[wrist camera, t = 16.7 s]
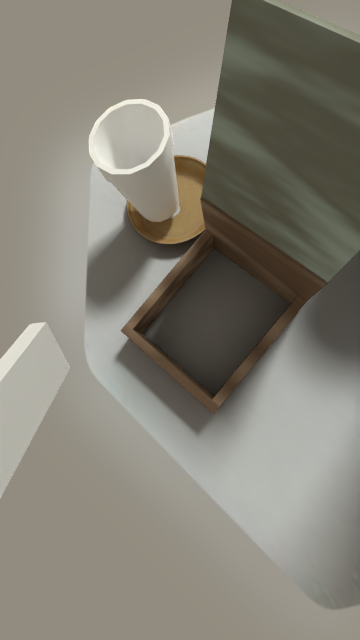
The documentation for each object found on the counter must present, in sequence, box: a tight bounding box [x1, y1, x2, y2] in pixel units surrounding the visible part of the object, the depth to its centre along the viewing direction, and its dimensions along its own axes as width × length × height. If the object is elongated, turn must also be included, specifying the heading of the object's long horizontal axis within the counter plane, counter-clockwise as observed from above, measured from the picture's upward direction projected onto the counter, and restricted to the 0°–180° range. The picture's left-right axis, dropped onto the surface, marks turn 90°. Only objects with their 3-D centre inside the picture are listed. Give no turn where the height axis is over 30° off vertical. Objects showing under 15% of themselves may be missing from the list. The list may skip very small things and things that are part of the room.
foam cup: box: [89, 99, 179, 222], centre depth 38 cm, size 10×9×13 cm
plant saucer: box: [127, 155, 206, 244], centre depth 45 cm, size 15×15×3 cm
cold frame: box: [121, 0, 360, 414], centre depth 29 cm, size 25×16×27 cm, turn 139°
